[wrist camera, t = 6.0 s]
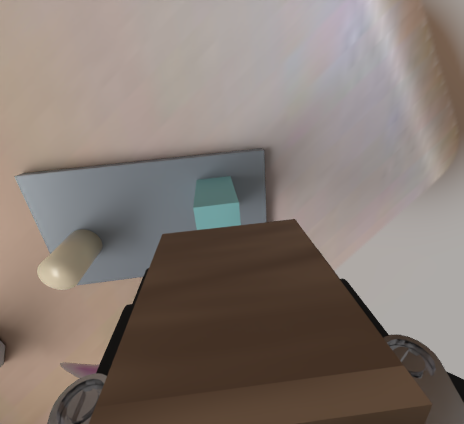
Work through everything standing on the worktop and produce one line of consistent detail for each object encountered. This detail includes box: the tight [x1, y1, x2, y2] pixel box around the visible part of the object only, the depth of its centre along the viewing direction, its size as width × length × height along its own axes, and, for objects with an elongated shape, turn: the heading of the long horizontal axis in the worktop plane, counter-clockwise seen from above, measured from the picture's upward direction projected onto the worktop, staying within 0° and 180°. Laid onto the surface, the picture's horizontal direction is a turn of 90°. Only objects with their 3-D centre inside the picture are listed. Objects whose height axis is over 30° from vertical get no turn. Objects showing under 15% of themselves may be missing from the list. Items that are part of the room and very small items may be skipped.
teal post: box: [193, 176, 241, 230], centre depth 17 cm, size 3×3×6 cm
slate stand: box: [14, 148, 266, 290], centre depth 19 cm, size 10×18×5 cm, turn 95°
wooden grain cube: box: [89, 219, 432, 424], centre depth 8 cm, size 5×5×7 cm
